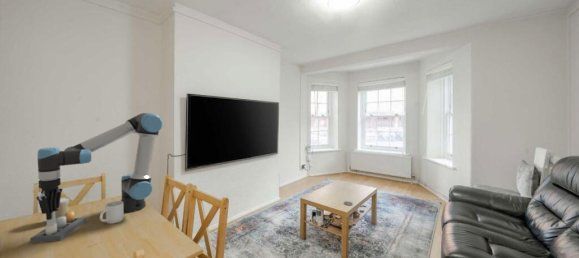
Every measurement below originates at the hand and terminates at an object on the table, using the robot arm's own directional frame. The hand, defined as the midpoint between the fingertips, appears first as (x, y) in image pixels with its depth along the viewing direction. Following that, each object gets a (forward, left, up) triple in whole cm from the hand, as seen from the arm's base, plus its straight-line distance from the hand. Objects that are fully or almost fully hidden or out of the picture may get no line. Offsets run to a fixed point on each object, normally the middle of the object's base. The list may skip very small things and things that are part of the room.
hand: (51, 224), depth 113 cm
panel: (0, -6, -7) cm, 9 cm away
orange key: (0, -13, -5) cm, 14 cm away
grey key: (0, -6, -5) cm, 8 cm away
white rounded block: (0, 0, -5) cm, 5 cm away
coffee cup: (+10, -20, -7) cm, 24 cm away
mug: (-20, -13, -7) cm, 25 cm away
